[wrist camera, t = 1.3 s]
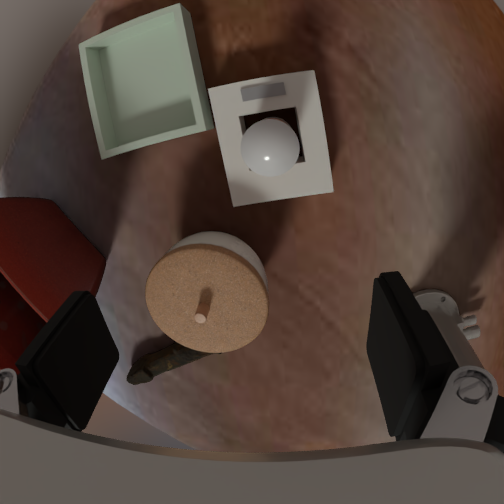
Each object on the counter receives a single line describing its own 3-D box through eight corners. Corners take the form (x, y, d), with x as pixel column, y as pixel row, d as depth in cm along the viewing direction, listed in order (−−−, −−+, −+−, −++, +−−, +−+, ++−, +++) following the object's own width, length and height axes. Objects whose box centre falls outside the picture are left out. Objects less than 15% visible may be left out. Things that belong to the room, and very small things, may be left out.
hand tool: (212, 318, 43) (205, 340, 39) (228, 338, 45) (223, 360, 40) (122, 354, 49) (111, 373, 44) (137, 370, 50) (128, 389, 46)
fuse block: (310, 74, 29) (314, 69, 25) (327, 182, 34) (334, 192, 30) (215, 91, 31) (207, 88, 27) (238, 196, 35) (232, 207, 32)
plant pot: (4, 247, 42) (-62, 298, 27) (45, 163, 35) (-47, 203, 20) (78, 327, 47) (27, 397, 32) (138, 262, 40) (73, 344, 25)
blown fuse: (289, 114, 31) (294, 115, 20) (295, 151, 33) (303, 172, 22) (250, 120, 32) (235, 125, 21) (257, 157, 33) (246, 180, 23)
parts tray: (190, 13, 27) (179, 2, 23) (214, 128, 32) (206, 130, 29) (96, 48, 29) (78, 44, 25) (118, 153, 34) (101, 159, 31)
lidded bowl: (203, 194, 36) (173, 229, 26) (292, 255, 38) (296, 309, 28) (154, 272, 41) (120, 322, 31) (234, 322, 43) (221, 382, 33)
